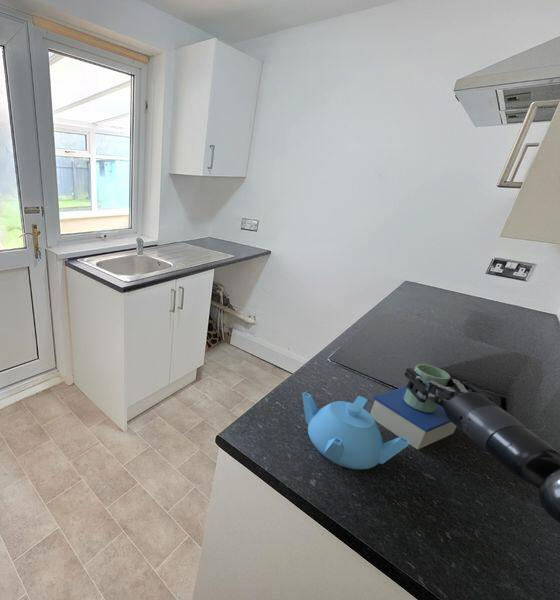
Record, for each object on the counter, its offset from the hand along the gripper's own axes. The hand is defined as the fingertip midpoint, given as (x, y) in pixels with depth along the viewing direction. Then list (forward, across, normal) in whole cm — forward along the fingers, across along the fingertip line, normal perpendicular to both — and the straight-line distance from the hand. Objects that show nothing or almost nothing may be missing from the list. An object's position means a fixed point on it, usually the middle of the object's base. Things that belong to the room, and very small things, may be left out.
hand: (422, 372), depth 73 cm
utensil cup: (-2, 0, +7) cm, 7 cm away
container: (-2, 0, +13) cm, 13 cm away
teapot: (-12, +21, +14) cm, 28 cm away
